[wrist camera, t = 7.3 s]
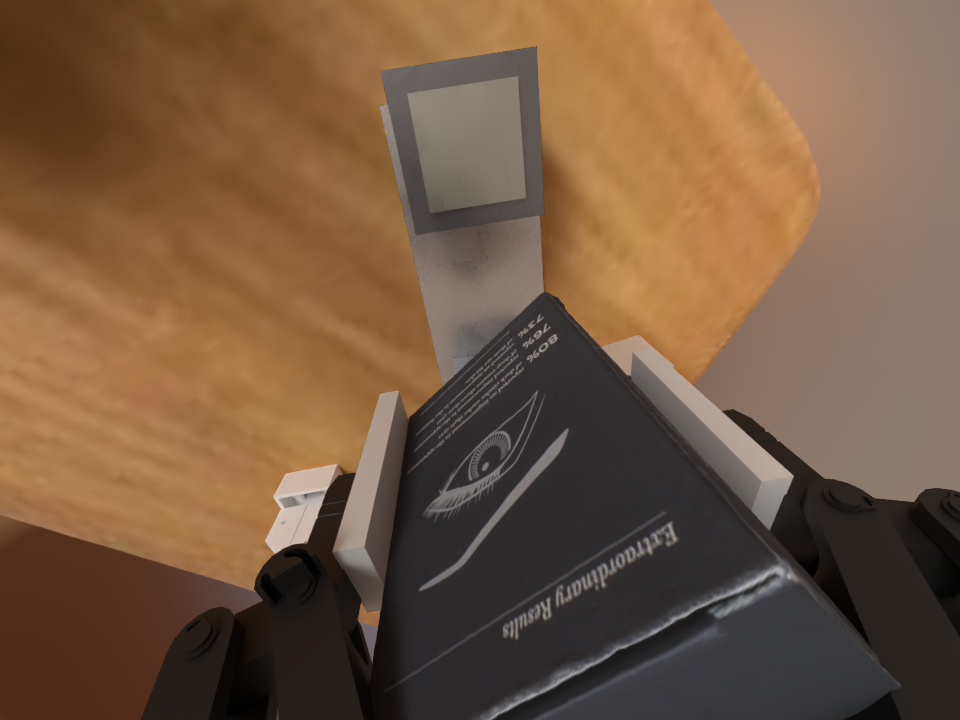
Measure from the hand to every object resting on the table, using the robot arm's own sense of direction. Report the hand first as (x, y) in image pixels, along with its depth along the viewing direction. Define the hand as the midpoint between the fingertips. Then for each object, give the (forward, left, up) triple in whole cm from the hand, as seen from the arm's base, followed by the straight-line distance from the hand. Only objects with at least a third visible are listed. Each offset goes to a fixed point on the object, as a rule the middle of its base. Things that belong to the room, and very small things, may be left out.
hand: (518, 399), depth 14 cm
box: (0, 0, -1) cm, 1 cm away
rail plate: (0, 0, -17) cm, 17 cm away
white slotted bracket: (+19, -21, -18) cm, 34 cm away
